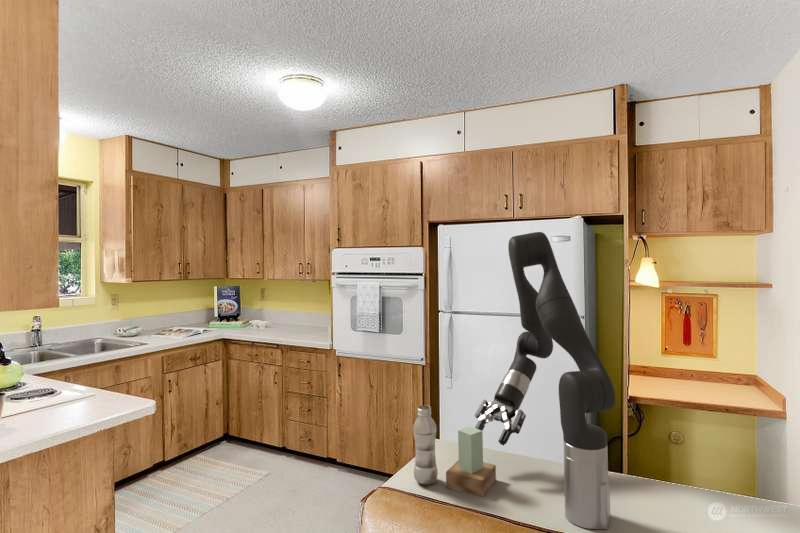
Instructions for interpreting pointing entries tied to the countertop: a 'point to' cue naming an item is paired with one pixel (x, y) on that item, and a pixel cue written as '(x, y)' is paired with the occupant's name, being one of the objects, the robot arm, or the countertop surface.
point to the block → (470, 449)
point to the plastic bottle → (425, 447)
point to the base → (471, 479)
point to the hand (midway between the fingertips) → (488, 439)
